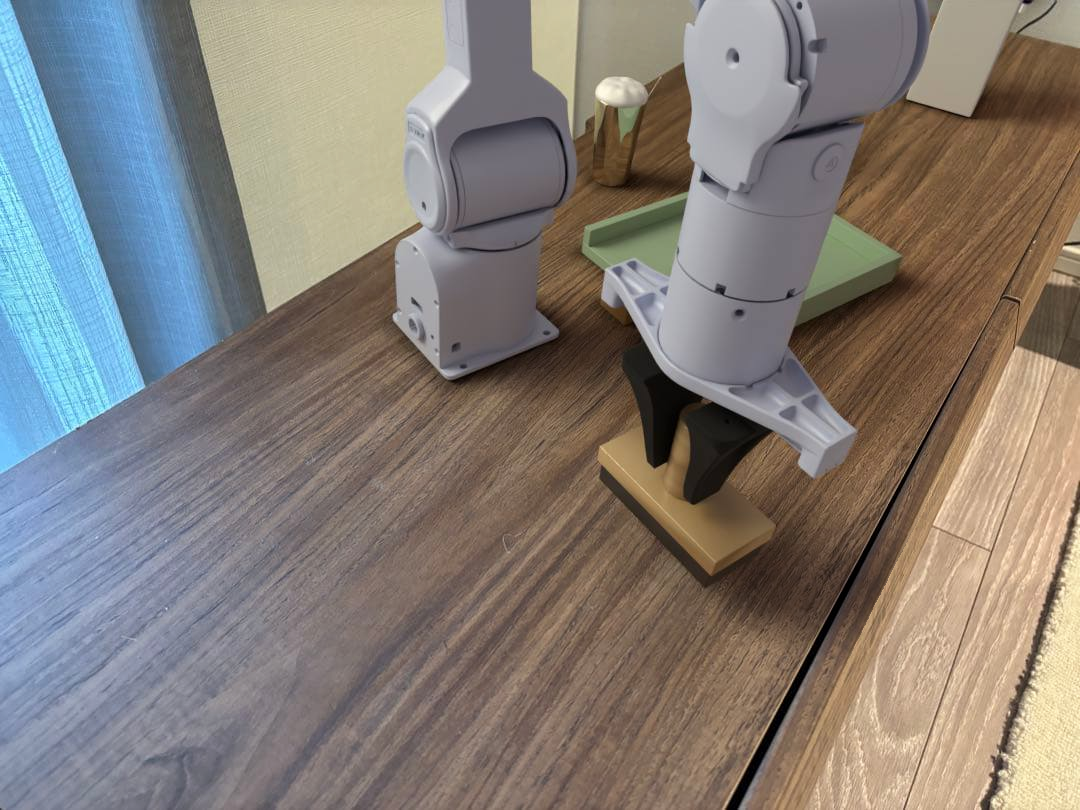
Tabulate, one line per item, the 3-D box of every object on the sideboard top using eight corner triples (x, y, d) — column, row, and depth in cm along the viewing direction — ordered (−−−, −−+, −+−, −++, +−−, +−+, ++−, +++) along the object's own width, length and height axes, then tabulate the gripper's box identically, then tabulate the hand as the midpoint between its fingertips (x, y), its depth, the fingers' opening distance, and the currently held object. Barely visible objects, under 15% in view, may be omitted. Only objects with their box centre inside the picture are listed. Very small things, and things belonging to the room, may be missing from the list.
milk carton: (969, 119, 96) (1053, -72, 82) (904, 100, 98) (976, -88, 85) (980, 96, 100) (1061, -88, 87) (918, 79, 102) (988, -103, 89)
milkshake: (640, 195, 79) (658, 87, 72) (581, 185, 79) (594, 77, 72) (645, 171, 82) (664, 66, 75) (589, 162, 82) (602, 56, 75)
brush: (705, 593, 45) (739, 498, 40) (593, 477, 51) (610, 379, 45) (763, 556, 47) (803, 460, 42) (650, 448, 53) (673, 351, 47)
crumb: (624, 325, 65) (630, 293, 63) (599, 304, 66) (604, 271, 64) (655, 313, 66) (661, 281, 64) (629, 292, 68) (635, 260, 66)
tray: (717, 363, 62) (725, 337, 61) (581, 252, 71) (584, 226, 70) (892, 281, 72) (903, 255, 70) (752, 191, 81) (759, 167, 79)
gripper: (944, 324, 35) (838, 535, 44) (695, 163, 43) (650, 371, 52) (826, 387, 31) (739, 600, 41) (581, 200, 39) (555, 414, 49)
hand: (683, 475), depth 46 cm, fingers closed on brush, 2 cm apart
